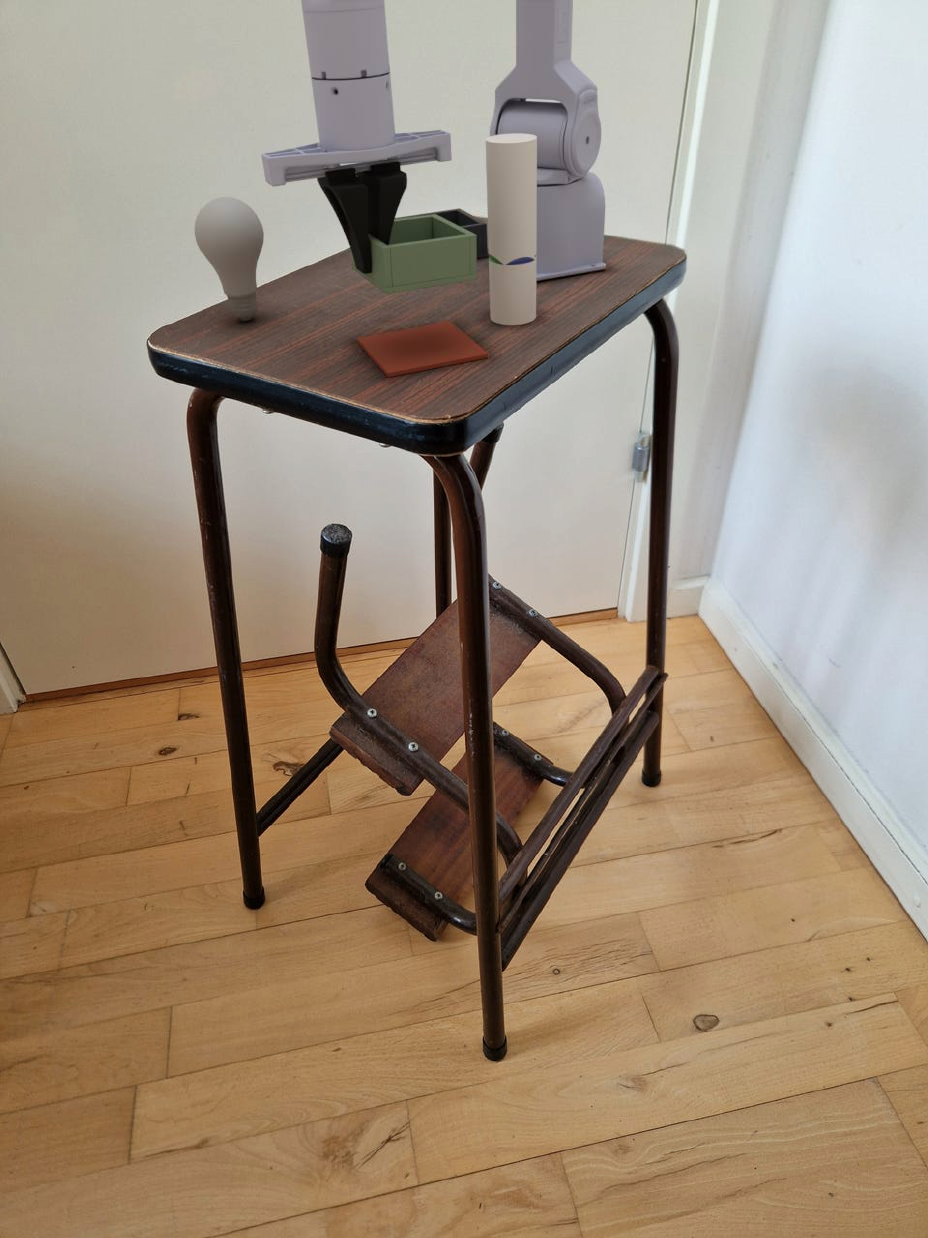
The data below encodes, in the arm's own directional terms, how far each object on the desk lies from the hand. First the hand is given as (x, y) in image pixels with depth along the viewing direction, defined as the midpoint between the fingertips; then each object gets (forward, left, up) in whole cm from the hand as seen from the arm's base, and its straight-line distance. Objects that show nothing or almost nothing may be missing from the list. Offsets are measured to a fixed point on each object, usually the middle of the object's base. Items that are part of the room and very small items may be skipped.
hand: (371, 269), depth 72 cm
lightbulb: (+9, -16, -8) cm, 19 cm away
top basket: (-4, 0, -1) cm, 4 cm away
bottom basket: (-16, -27, -7) cm, 32 cm away
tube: (-14, -4, -8) cm, 16 cm away
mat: (-4, 0, -7) cm, 8 cm away
